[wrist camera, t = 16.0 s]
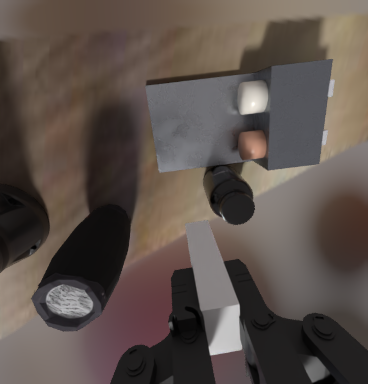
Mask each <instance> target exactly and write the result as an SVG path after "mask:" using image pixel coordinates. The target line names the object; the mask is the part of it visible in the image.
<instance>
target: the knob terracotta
mask: <svg viewBox="0 0 368 384" xmlns="http://www.w3.org/2000/svg"><path fill="white" fill-rule="evenodd" d="M327 132H328V130H323V138H322V145H326V139H327ZM238 150H239V155H240V157H241V159H242V160H250V159H258V158H263V157H264V156H265V153H266V137H265V134H264V132H263V131H262V130H256V131H248V132H241V133H240V134H239V138H238Z"/></svg>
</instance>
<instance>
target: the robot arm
mask: <svg viewBox="0 0 368 384" xmlns="http://www.w3.org/2000/svg"><path fill="white" fill-rule="evenodd" d="M185 226H186V232H187V239H188V246H189V252H190V258H191V264H192V268H186V269H180V270H175V271H174V273H173V275H172V277H171V287H172V309H173V311H172V313H171V314H170V316H169V321H168V322H169V327H170V333H169V335H168V336H167V337H166V338H165V339H164V340H162V341H161V342H160V343H158V344H156V345H155V346H152V347H151V348H149V347H147V346H145V345H135V346H133V347H131V348H129V349H128V350H127V351H126V352H125V353H124V354H123V355H122V357H121V359H120V360H119V362H118V365H117V367H116V370H115V372H114V375H113V378H112V380H111V383H110V384H215V378H214V373H213V368H212V362H211V357H210V355H215V354H221V353H227V352H232V351H237V350H241V349H242V347H243V350H244V353H245V366H246V375H247V376H250V379H251V383H252V384H368V350H367V349H365V348H364V347H363V346H362V345H361V344H360V343H359V342H358V341H357V340H356V339H354V338H353V337H352V336H351V335H350V334H349V333H348V332H347V331H346V330H345V329H344V328H342V327H341V326H340V325H339V324H338V323H337V322H336V321H334V320H333V319H331V318H330V317H328V316H325V315H323V314H318V313H312V314H308V315H307V316H305V317H304V319H303V321H299V320H292V319H286V318H282V317H280V316H277V315H276V314H274V313H273V312H272V311H271V310H270V309H269V308H268V307H267V306H266V304H265V302H264V300H263V298H262V296H261V294H260V292H259V290H258V288H257V286H256V285H255V283H254V281H253V279H252V277H251V275H250V273H249V271H248V269H247V267H246V265H245V264H244V263H243V262H241V261H240V260H239V259H236V260H230V261H225V262H223V260H222V257H221V254H220V252H219V249H218V247H217V244H216V242H215V239H214V236H213V233H212V231H211V228H210V225H209V223H208V220H204V221H198V222H192V223H186V224H185ZM48 233H49V222H48V218H47V216H46V213H45V212H44V210H43V208H42V207H41V206H40V204H39V203H38V202H37V201H36V200H35V199H34V198H32V197H31V196H30V195H28V194H27V193H25V192H23V191H22V190H20V189H17V188H15V187H12V186H8V185H3V184H0V273H1V272H2V271H3V270H4V269H5V268H7V267H9V266H11V265H13V264H15V263H17V262H19V261H21V260H23V259H25V258H27V257H29V256H31V255H32V254H33V253H35V252H36V251H37V250H38V249H39V248H40V247H41V246H42V245H43V243H44V242H45V241H46V239H47V237H48ZM241 344H242V347H241Z"/></svg>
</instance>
